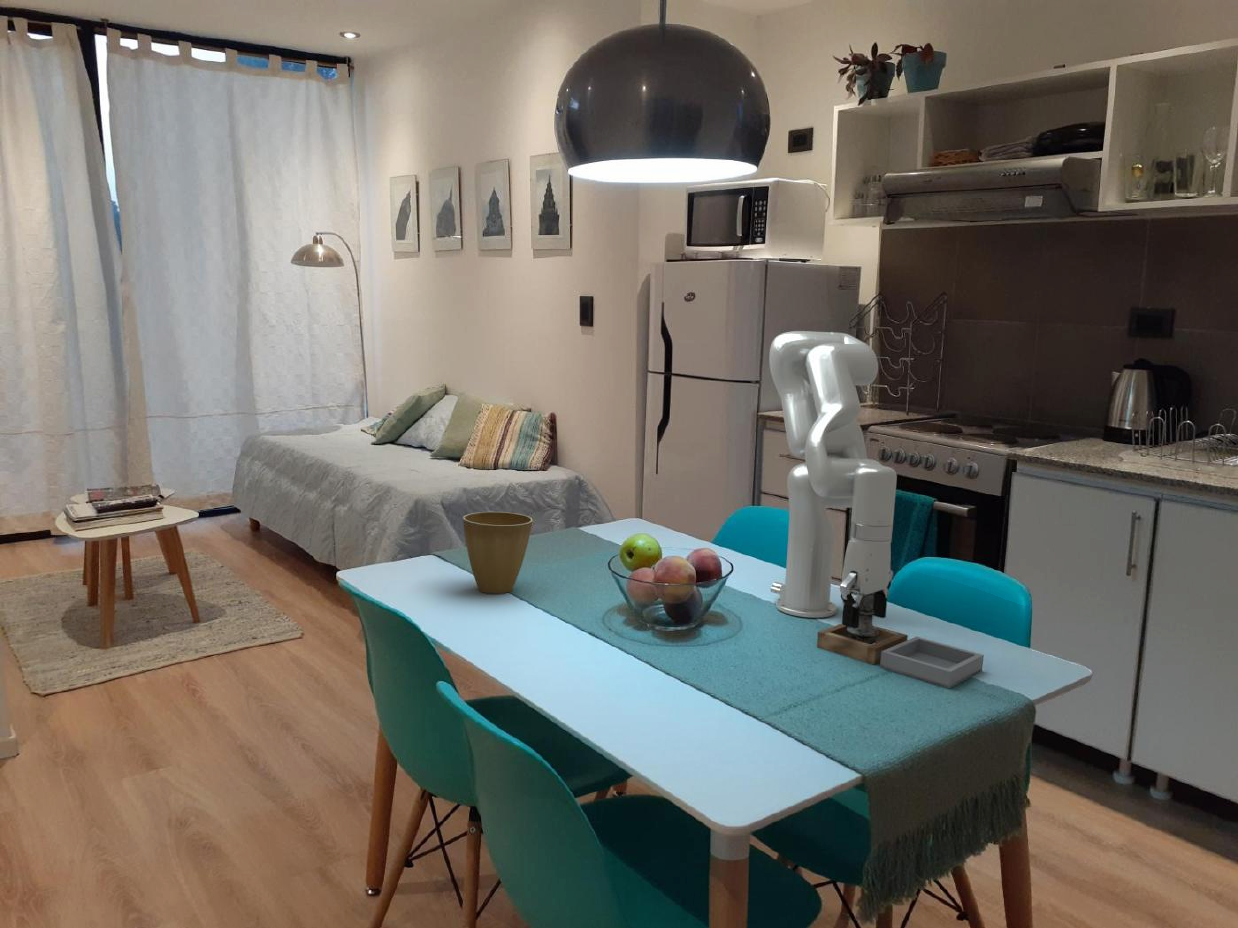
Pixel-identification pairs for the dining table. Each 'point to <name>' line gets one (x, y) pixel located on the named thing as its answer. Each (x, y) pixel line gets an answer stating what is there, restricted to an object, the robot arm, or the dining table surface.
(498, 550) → the plant pot
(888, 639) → the wooden tray
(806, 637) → the dining table surface
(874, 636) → the grey chess piece
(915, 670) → the grey tray
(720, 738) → the dining table surface
